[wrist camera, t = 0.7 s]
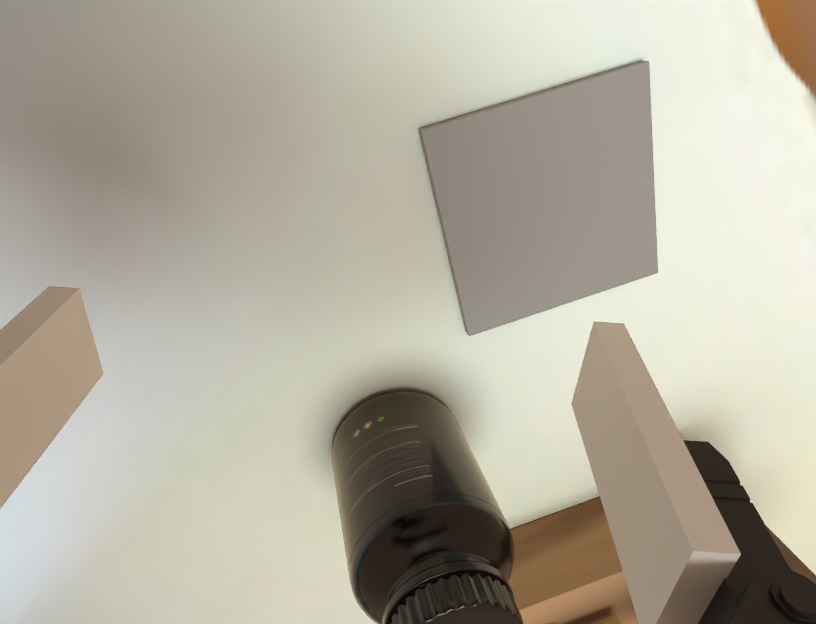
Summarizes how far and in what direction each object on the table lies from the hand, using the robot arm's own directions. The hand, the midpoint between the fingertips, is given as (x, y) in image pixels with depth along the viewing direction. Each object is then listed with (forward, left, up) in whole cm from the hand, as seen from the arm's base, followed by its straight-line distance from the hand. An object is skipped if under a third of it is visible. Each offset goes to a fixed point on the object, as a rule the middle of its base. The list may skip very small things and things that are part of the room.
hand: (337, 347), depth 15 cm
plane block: (+25, +7, -11) cm, 28 cm away
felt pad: (+2, +10, -11) cm, 15 cm away
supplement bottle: (+12, 0, -11) cm, 17 cm away
